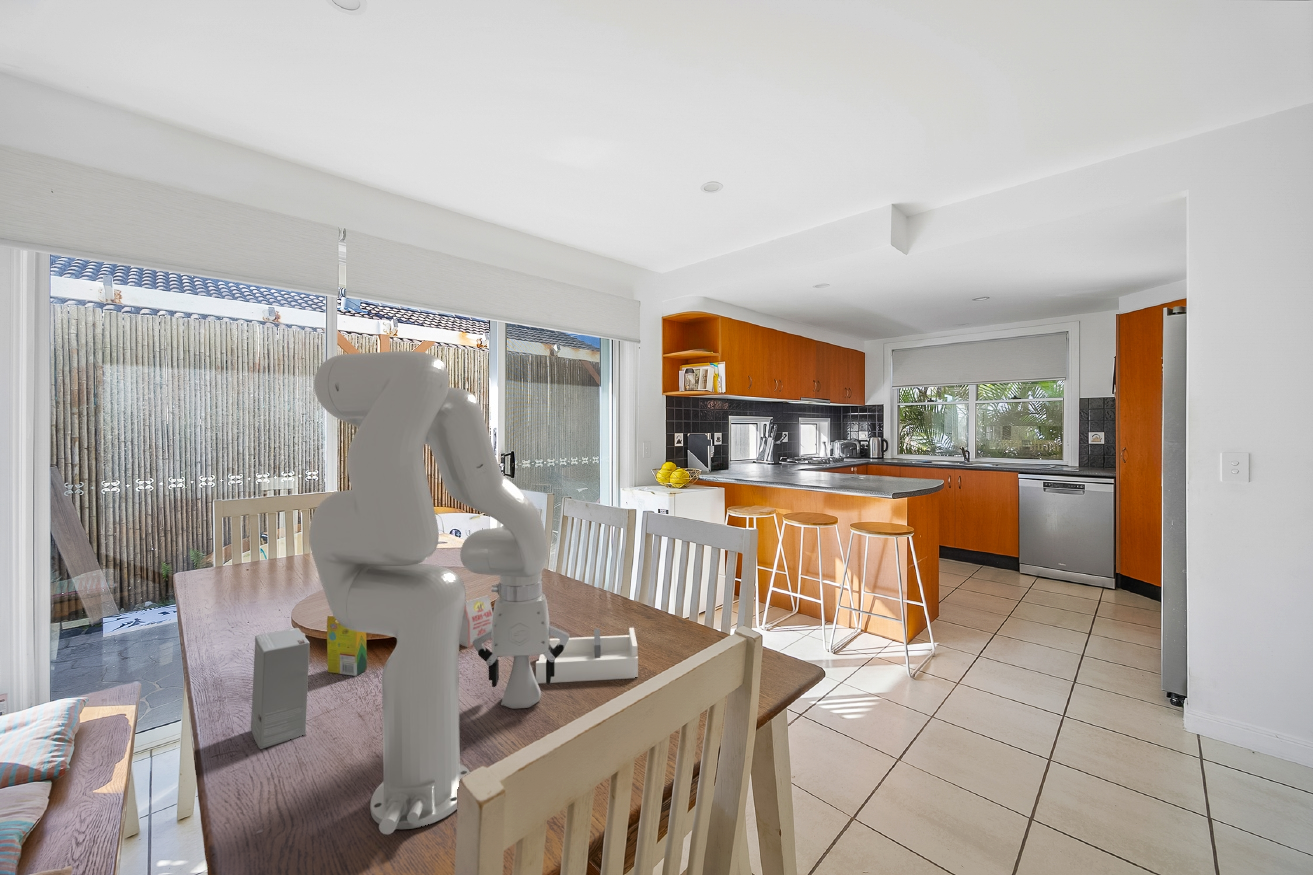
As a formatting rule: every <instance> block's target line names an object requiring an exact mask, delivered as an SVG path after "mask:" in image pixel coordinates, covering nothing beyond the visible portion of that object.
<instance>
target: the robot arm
mask: <svg viewBox="0 0 1313 875" xmlns="http://www.w3.org/2000/svg"><path fill="white" fill-rule="evenodd" d="M449 378H450V377H449V372H448V369H447V366H446V365H445V363H444V362H443V361H442V360H441V359H440V357H437V356H435V355H433V354H431V353H426V352H421V351H412V350H411V351H410V350H409V351H408V350H397V351H396V350H395V351H394V350H393V351H379V352H361V353H360V352H359V353H356V352H355V353H342V354H339V355H334V356H332V357H330V358H328V359H327V360H325V361H324V362H322V363H321V364H320V366H319V367H318V369H317V371H316V372H315V375H314V380H313V389H314V393H315V396H316V398H317V400H318V402H319V403H320V405H321V406H322V408H323V409H324V410H325V411H327V413H329V414H330V415H332V416H333V417H335V418H336V419H338V420H340V421H342V422H344V423H346V424H349V425H351V426H353V427H355V428H357V430H356V432H355V434H354V436H353V438H352V440H351V442H350V445H349V447H348V452H347V456H346V468H347V473H348V479H349V483H350V487H351V489H347V490H341V491H338V492H335V493H333V494H330V495H329V496H327V497H325V498H324V499H323V500H322V501H321V502H320V503H319V504H318V506H317V507H316V509H315V510H314V512H313V514H312V516H311V520H310V524H309V530H308V539H309V540H308V541H309V548H310V552H311V555H312V559H313V562H314V564H315V568H316V570H317V574H318V577H319V580H320V583H321V586H322V589H323V592H324V595H325V598H326V601H327V604H328V606H329V610H330V612H331V614H332V616H334V617H335V619H336V621H338V622H339V623H340V624H341V625H342V626H343V627H345V628H347V629H350V630H353V631H359V632H366V634H375V635H384V636H387V637H394V638H396V645H395V648H394V649H393V651H392V653H391V654H390V655H389V657H388V659H387V660H386V662H385V663H384V667H383V669H382V670H383V671H382V677H381V692H382V749H383V750H382V754H383V756H382V759H383V760H382V761H383V762H382V764H383V766H382V767H383V770H382V772H383V781H382V782H381V783H380V784H379V785H378V787H377V788H376V789H375V790H374V792H373V793H372V796H371V798H370V814H371V818H372V819H373V821H374V822H376V823H377V824H378V830H379V831H380V833H381V834H383V835H391V834H393V833H394V832H395V830H411V829H416V828H421V826H422V827H425V825H426V826H428V824H429V825H431V824H434V823H436V822H438V821H440V820H442V819H445V818H447V817H448V816H449V815H451V814H452V813H454V812H455V811H456V810H457V809H458V808H457V789H458V787H459V781H460V779H461V778H462V777H464V776H465V775H467V774H469V773H470V774H471V772H470V770H469V769H468V768H467V767H466V766H465V765H463V764H462V763H461V762H460V757H461V756H460V753H461V752H460V746H461V745H460V677H459V675H460V673H459V672H460V670H459V666H460V665H459V663H460V662H459V660H460V659H459V656H460V653H459V650H460V644H459V640H460V631H461V625H462V619H463V614H464V609H465V602H466V601H467V590H466V585H465V583H464V581H463V579H462V578H461V576H459V574H458V573H456V572H455V571H453V570H452V569H450V568H447V567H445V566H440V565H437V564H427V563H423V562H424V561H427V560H428V559H430V558H431V557H432V555H433V554H434V553H435V551H436V549H437V548H438V544H439V539H440V538H439V531H440V530H439V525H438V520H437V515H436V511H435V506H434V503H433V502H434V501H433V497H432V494H431V490H430V485H429V480H428V477H427V472H426V471H427V470H426V466H425V465H426V464H425V458H424V448H425V445H427V446H429V448H430V450H431V453H432V455H433V458H434V461H435V463H436V466H437V469H438V471H439V474H440V477H441V479H442V483H443V485H444V488H445V491H446V492H447V494H448V495H449V496H450V497H451V498H452V499H454V500H456V501H458V502H460V503H462V504H463V505H465V506H467V507H469V508H470V509H471V508H472V509H473V510H475V511H478V512H480V513H483V514H485V515H487V516H488V517H490V518H492V519H493V520H495V521H497V522H498V523H500V524H501V525H502V526H500V527H499V526H498V527H494V528H484V529H479V530H477V531H474V532H473V533H471V534H470V535H468V536H467V537H466V538H465V539H464V541H463V543H462V545H461V548H460V553H459V556H460V561H461V563H462V565H463V567H464V568H465V569H466V570H467V571H469V572H471V573H474V574H478V575H487V576H499V582H498V583H495V584H491V588H490V589H491V593H496V594H497V595H498V596H497V597H496V599H495V601H494V606H493V610H492V611H493V621H492V629H490V630H489V631H487V632H485V633H483V634H481V635H480V636H478V637H476V638H474V640H473V645H474V646H473V648H474V649H475V650H476V652H477V655H478V656H479V658H481V659H482V660H483V661H485V663H486V665H487V666H488V681H491V687H492V688H496V687H497V685H498V683H499V678H500V675H499V674H500V671H499V670H500V669H499V666H500V665H499V663H500V662H499V661H500V660H499V659H498V658H507V657H511V658H512V657H513V658H514V656H529V657H530V656H540V655H541V654H543V655H544V656H545V657H546V658H547V660H546V683H545V684H547V685H549V684H550V685H551V683H550V681H551V677H554V675H555V659H556V658H557V657H558V656H559V655H560V654H561V653H562V652H563V650H564V648H565V646H566V644H567V642H568V640H569V638H570V633H569V632H567V631H564V630H562V629H560V628H557V627H555V626H554V625H550V615H549V608H548V607H549V606H548V601H547V598H546V597H547V596H546V594H545V593H543V574H542V571H543V570H544V569H545V567H546V565H547V563H548V556H549V544H548V540H547V534H546V531H545V528H544V524H543V520H542V518H541V515H540V512H539V511H538V509H537V507H536V506H535V505H534V504H535V503H533V502H532V500H531V499H530V498H529V497H528V496H526V494H525V493H524V492H523V491H522V490H521V489H520V488H519V487H517V485H516V484H514V483H513V482H512V481H511V480H509V479H508V478H507V477H506V476H505V475H503V474H502V471H501V470H500V466H499V462H498V460H497V457H496V456H497V455H496V454H495V451H494V448H493V447H494V446H493V444H492V440H491V436H490V433H489V430H488V426H487V423H486V420H485V418H484V414H483V410H482V408H481V407H482V406H481V404H480V402H479V401H478V400H479V399H477V397H476V396H475V395H474V394H473V393H472V392H470V391H468V390H466V389H464V388H459V387H449V385H450V379H449ZM551 636H552V637H553V638H555V639H556V638H558V639H560V642H559V643H558V645H557V646H556V647H555V648H553V647H552V646H551V645H550V644H549V641H550V639H551ZM491 638H492V639H491ZM489 639H490V640H491V644H490V645H491V650H489V649H488V648H487V647H486V646H485V644H484V643H486V642H487V640H488V641H490V640H489Z"/></svg>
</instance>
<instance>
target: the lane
mask: <svg viewBox="0 0 1313 875" xmlns="http://www.w3.org/2000/svg"><path fill="white" fill-rule="evenodd" d="M559 642H560V639H558V638H556V637H555V638H550V641H549V644H550V645H551V646H552V647H553V648H555V647H556V646H557V645H558V643H559ZM600 645H601V658H594V636H583V637H582V636H581V637H579V636H578V637H569V640H568V642H567V644H566V646H565V648H564V650H563V652H562V653H561V654H560V655H559V656H558V657H557V658H556V659H555V675H554V677H551V681H550V684H551V683H553V684H554V683H571V682H588V681H589V682H590V681H607V680H621V679H622V680H625V679H626V680H627V679H636V678H635V677H638V678H639V656H638V649H639V648H638V643H637V638H636V632H635V627H629V628H628V634H625V635H620V634H619V635H603V636H602V635H600ZM546 660H547V658H546V657H545V656H544V655H543V654H541V655H539V658H538V660H536V662H535V678H536V681H537V683H538V684H547V683H546Z"/></svg>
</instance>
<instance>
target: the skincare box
mask: <svg viewBox="0 0 1313 875" xmlns="http://www.w3.org/2000/svg"><path fill="white" fill-rule="evenodd" d="M310 644H311V643H310V641H309V640H308V639H307V638H306V633H304V632H303V631H302V630H301V629H300V628H299V627H294V628H289V629H283V630H279V631H271V632H267V633H260V634H257V635H254V653H253V654H254V659H253V675H252V676H253V679H252V680H253V681H252V698H251V700H252V702H251V719H250V731H251V733H252V737H253V739H254V740H255V741H254V742H255V743H256V744H257V747H258V748H259V749H260V750H262V749H265V748H270V747H272V746H276V745H279V744H281V743H284V742H287V741H290V739H291V740H294V739H296V738H297V739H298V738H300V737H303V736H305V735H306V734H307V733H306V732H307V727H306V726H307V710H308V709H307V705H308V687H309V686H308V685H309V680H308V679H309V666H310ZM302 735H303V736H302ZM299 736H300V737H299Z"/></svg>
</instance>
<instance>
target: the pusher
mask: <svg viewBox="0 0 1313 875" xmlns="http://www.w3.org/2000/svg"><path fill="white" fill-rule="evenodd" d="M593 633H594V634H593V635H594V636H593V637H594V658H601V645H600V636H601V628H594V630H593Z"/></svg>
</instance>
